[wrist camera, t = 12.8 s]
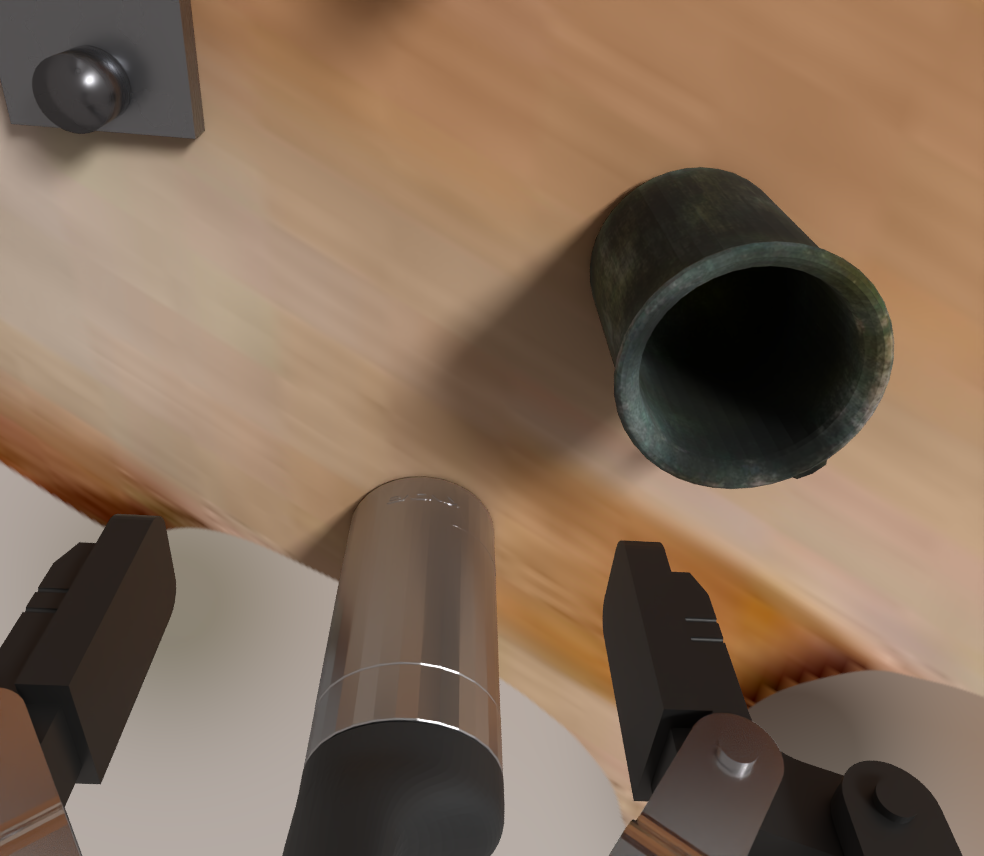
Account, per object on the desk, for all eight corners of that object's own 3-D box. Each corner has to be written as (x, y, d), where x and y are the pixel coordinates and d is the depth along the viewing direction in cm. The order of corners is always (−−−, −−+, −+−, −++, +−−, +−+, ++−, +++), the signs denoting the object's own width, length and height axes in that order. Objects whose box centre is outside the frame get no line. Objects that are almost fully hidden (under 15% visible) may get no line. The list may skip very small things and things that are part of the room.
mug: (731, 105, 37) (828, 182, 27) (849, 331, 43) (962, 460, 33) (538, 239, 40) (560, 351, 30) (675, 429, 47) (731, 573, 37)
